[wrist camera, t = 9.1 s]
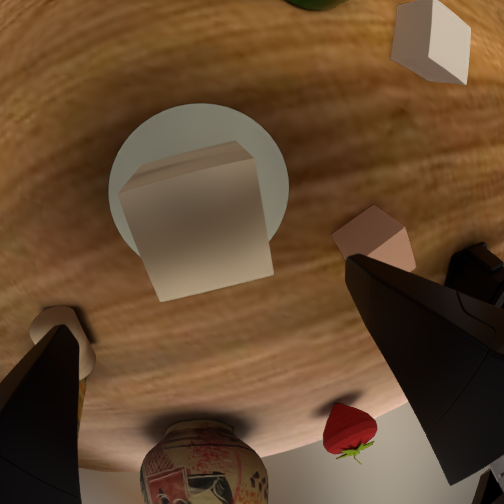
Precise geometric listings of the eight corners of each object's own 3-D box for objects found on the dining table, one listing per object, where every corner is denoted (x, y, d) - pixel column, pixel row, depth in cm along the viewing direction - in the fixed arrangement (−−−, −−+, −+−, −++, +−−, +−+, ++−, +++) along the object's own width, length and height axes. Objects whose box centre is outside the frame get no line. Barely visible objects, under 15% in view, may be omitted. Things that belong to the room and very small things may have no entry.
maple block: (252, 226, 18) (273, 274, 13) (167, 246, 18) (160, 302, 13) (235, 140, 15) (254, 157, 10) (141, 164, 15) (117, 194, 10)
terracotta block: (387, 241, 21) (416, 267, 18) (349, 269, 22) (373, 299, 19) (373, 204, 19) (405, 226, 16) (330, 234, 20) (356, 262, 17)
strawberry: (364, 397, 35) (391, 451, 27) (318, 420, 36) (339, 476, 27) (357, 384, 32) (387, 445, 24) (305, 409, 33) (328, 473, 24)
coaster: (294, 250, 20) (296, 253, 20) (144, 286, 19) (143, 290, 19) (272, 88, 14) (274, 87, 14) (89, 135, 14) (86, 136, 13)
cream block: (428, 81, 15) (466, 85, 12) (389, 59, 14) (428, 57, 11) (434, 30, 13) (470, 27, 9) (396, 5, 12) (432, -4, 8)
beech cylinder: (74, 299, 19) (92, 338, 22) (31, 313, 17) (52, 351, 20) (77, 335, 16) (100, 374, 18) (28, 350, 14) (55, 387, 16)
